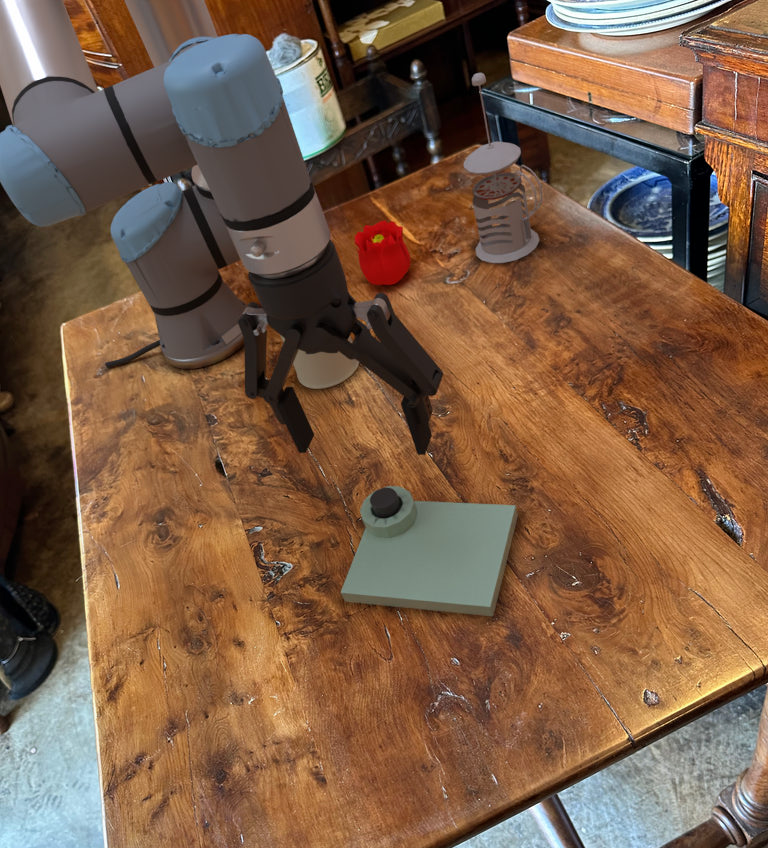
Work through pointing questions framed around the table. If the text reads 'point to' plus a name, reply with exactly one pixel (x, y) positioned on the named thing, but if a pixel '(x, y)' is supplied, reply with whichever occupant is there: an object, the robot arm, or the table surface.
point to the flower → (382, 253)
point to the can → (323, 368)
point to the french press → (511, 234)
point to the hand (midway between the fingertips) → (364, 444)
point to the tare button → (385, 502)
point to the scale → (432, 556)
